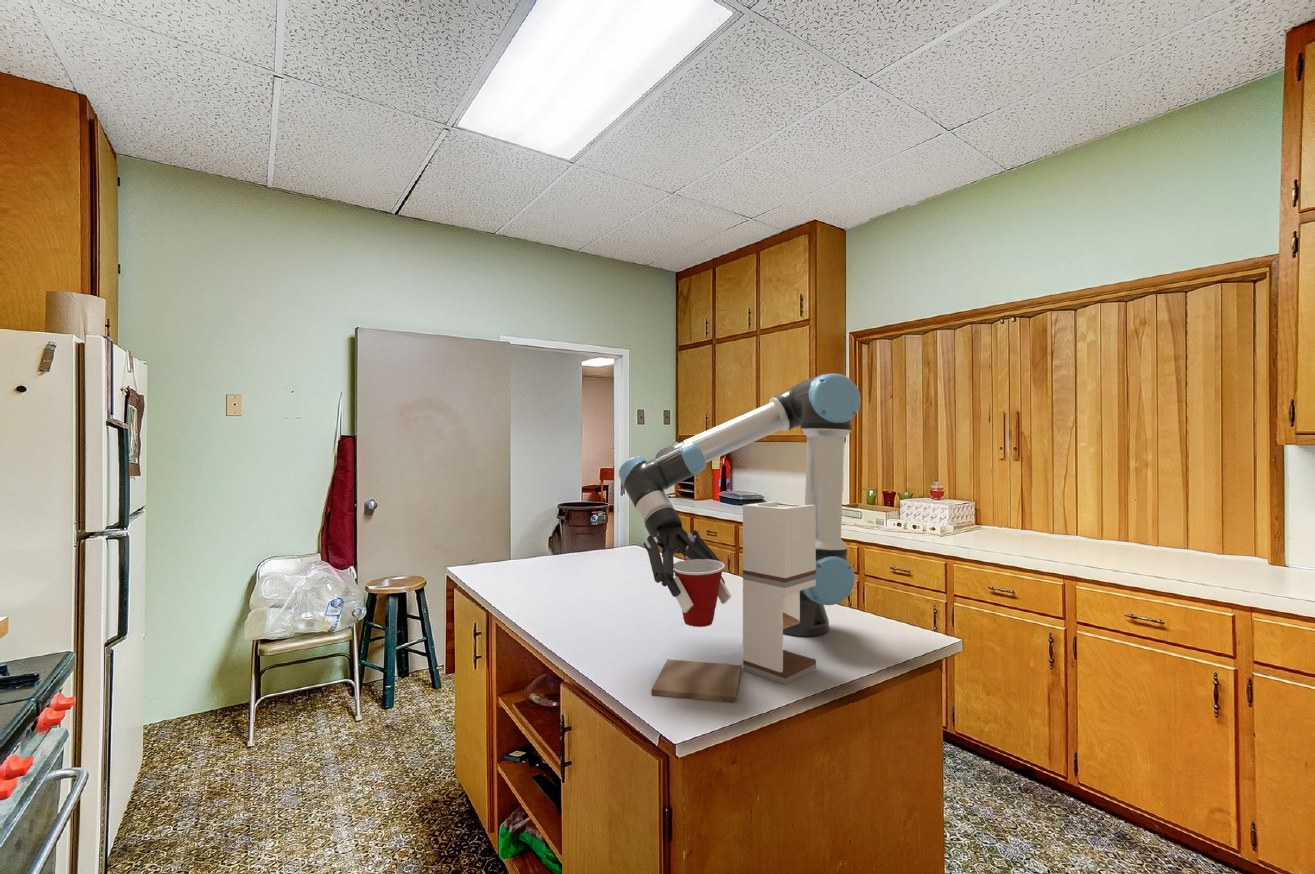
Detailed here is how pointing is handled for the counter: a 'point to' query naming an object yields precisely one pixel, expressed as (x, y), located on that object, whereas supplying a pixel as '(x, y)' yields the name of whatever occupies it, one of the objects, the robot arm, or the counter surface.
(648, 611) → the counter surface
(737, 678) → the walnut board
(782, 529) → the white dispenser
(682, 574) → the plastic cup
